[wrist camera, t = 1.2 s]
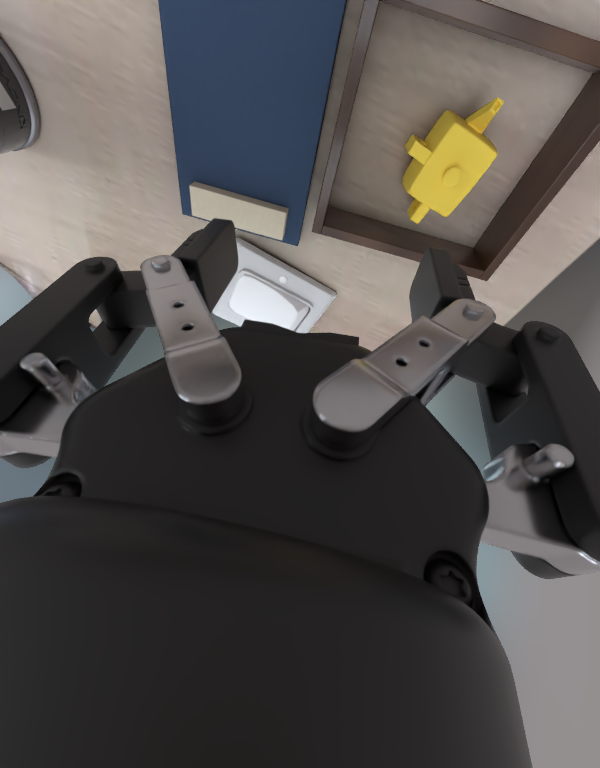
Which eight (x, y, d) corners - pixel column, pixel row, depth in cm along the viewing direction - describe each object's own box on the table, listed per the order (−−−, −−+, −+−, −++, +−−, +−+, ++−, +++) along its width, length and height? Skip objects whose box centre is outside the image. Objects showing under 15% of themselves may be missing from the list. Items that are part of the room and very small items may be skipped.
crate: (317, 212, 28) (311, 231, 25) (372, -25, 17) (372, -38, 15) (475, 257, 29) (486, 281, 26) (617, 59, 18) (662, 63, 16)
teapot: (447, 61, 20) (463, 66, 16) (509, 111, 21) (535, 125, 18) (376, 184, 26) (378, 205, 22) (428, 216, 27) (436, 241, 24)
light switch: (292, 363, 40) (202, 324, 36) (295, 343, 43) (212, 304, 38) (336, 310, 32) (228, 252, 28) (337, 289, 35) (238, 233, 31)
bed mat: (187, 209, 30) (177, 219, 28) (143, -223, 14) (116, -254, 13) (299, 241, 30) (295, 251, 29) (374, -138, 15) (374, -158, 13)
